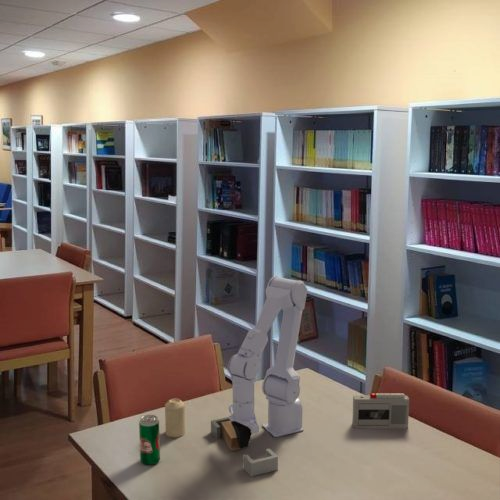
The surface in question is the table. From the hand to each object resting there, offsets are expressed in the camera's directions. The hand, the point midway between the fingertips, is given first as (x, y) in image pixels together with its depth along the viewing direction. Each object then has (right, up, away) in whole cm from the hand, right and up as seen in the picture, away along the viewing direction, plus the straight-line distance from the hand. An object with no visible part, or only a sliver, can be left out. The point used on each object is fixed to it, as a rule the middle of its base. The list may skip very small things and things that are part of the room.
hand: (243, 446), depth 161 cm
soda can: (-24, -2, -5) cm, 25 cm away
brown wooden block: (-3, 0, +6) cm, 7 cm away
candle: (-19, 0, +10) cm, 22 cm away
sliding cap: (+4, -3, -9) cm, 10 cm away
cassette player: (+40, +1, +15) cm, 42 cm away
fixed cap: (-5, +1, +10) cm, 12 cm away
